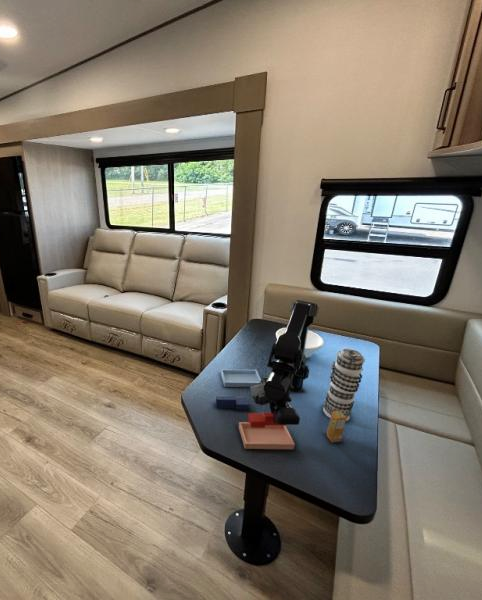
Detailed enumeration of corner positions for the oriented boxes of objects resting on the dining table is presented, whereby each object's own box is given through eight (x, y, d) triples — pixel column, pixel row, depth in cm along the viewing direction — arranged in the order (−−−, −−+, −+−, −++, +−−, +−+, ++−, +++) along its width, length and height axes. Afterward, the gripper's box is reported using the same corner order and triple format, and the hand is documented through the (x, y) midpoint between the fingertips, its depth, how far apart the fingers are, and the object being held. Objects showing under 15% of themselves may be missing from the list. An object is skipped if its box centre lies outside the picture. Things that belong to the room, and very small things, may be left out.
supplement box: (325, 435, 103) (331, 410, 100) (335, 434, 104) (341, 410, 100) (331, 443, 100) (337, 418, 97) (341, 442, 101) (348, 417, 97)
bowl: (323, 348, 155) (326, 333, 152) (317, 369, 139) (320, 353, 136) (279, 337, 166) (281, 323, 163) (268, 355, 149) (270, 340, 146)
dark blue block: (216, 409, 115) (217, 401, 113) (215, 402, 118) (215, 394, 117) (247, 409, 115) (249, 401, 113) (245, 402, 118) (246, 394, 117)
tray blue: (255, 373, 135) (256, 369, 135) (262, 387, 127) (262, 382, 126) (220, 373, 136) (220, 369, 135) (224, 386, 127) (224, 382, 126)
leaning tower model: (321, 401, 119) (335, 343, 110) (349, 408, 115) (366, 349, 106) (321, 417, 111) (336, 355, 102) (351, 425, 107) (369, 362, 98)
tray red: (283, 427, 106) (284, 422, 106) (293, 449, 98) (294, 444, 97) (238, 426, 107) (239, 422, 106) (244, 448, 98) (245, 443, 97)
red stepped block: (283, 419, 102) (284, 410, 101) (287, 428, 98) (289, 419, 97) (247, 419, 102) (248, 410, 101) (250, 427, 98) (251, 418, 97)
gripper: (247, 362, 103) (242, 401, 109) (263, 400, 86) (257, 444, 91) (281, 362, 103) (274, 401, 108) (304, 401, 85) (295, 444, 91)
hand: (274, 421), depth 100 cm, fingers closed on red stepped block, 2 cm apart
